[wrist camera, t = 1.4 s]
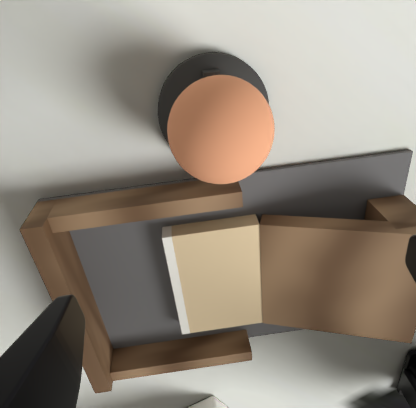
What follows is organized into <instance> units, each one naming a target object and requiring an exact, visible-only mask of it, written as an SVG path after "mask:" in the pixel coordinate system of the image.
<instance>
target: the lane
mask: <svg viewBox="0 0 416 408" xmlns="http://www.w3.org/2000/svg"><path fill="white" fill-rule="evenodd" d="M412 153H413V151H411V150H404V151H396V152H389V153H381V154H374V155H366V156H359V157H351V158H344V159H337V160H329V161H322V162H314V163H307V164H299V165H292V166H284V167H277V168H269V169H262V170H256V171H255V172H254V173H252V174H251V175H250V176H248V177H246V178H244V179H242V180H240V181H238V182H239V185H240V187H241V190H242V198H243V207H240V208H233V209H225V210H218V211H211V212H203V213H196V214H189V215H181V216H174V217H167V218H160V219H152V220H145V221H138V222H130V223H123V224H116V225H108V226H101V227H94V228H86V229H79V230H72V231H69V232H70V234H71V237H72V240H73V242H74V245H75V248H76V250H77V253H78V256H79V258H80V261H81V264H82V267H83V269H84V272H85V275H86V277H87V280H88V283H89V285H90V288H91V291H92V293H93V296H94V299H95V301H96V304H97V307H98V309H99V312H100V315H101V317H102V320H103V323H104V325H105V328H106V331H107V333H108V336H109V339H110V341H111V344H112V347H113V349H117V348H123V347H130V346H137V345H144V344H151V343H157V342H164V341H171V340H178V339H185V338H192V337H198V336H205V335H212V334H219V333H226V332H232V331H239V330H247V334H248V337H254V336H261V335H268V334H274V333H281V332H288V331H295V330H301V329H302V328H295V327H288V326H280V325H273V324H266V323H263V316H262V284H261V252H260V221H261V217H262V214H265V215H283V216H302V217H320V218H338V219H357V220H364V219H365V212H366V206H367V200H368V199H375V198H383V197H390V196H397V195H404V191H405V186H406V181H407V177H408V172H409V167H410V163H411V158H412ZM197 180H199V179H197V178H195V179H187V180H180V181H172V182H165V183H157V184H150V185H143V186H135V187H128V188H120V189H113V190H105V191H98V192H90V193H83V194H75V195H68V196H60V197H53V198H46V199H39V200H38V201H37V202H40V201H48V200H55V199H63V198H70V197H78V196H85V195H92V194H100V193H107V192H115V191H122V190H130V189H137V188H145V187H152V186H159V185H167V184H174V183H182V182H189V181H197Z"/></svg>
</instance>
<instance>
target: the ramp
mask: <svg viewBox="0 0 416 408" xmlns="http://www.w3.org/2000/svg"><path fill="white" fill-rule="evenodd" d="M415 234H416V205H415V204H414V203H412V202H411V201H410V200H409V199H408V198H407V197H405V196H404V195H397V196H390V197H383V198H375V199H368V200H367V206H366V212H365V219H364V220H357V219H338V218H320V217H302V216H283V215H265V214H262V217H261V221H260V252H261V284H262V316H263V323H266V324H273V325H280V326H288V327H295V328H302V329H310V330H317V331H324V332H332V333H339V334H346V335H354V336H361V337H368V338H376V339H383V340H390V341H398V342H405V343H411V342H412V339H413V336H414V332H415V329H416V283H415V281H414V279H413V278H412V276H411V274H410V272H409V270H408V269H407V266H406V263H405V256H406V251H407V246H408V242H409V238H410V237H411V236H412V235H415Z"/></svg>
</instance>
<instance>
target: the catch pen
mask: <svg viewBox="0 0 416 408" xmlns="http://www.w3.org/2000/svg"><path fill="white" fill-rule="evenodd" d="M240 207H243V198H242V190H241V187H240V185H239V182H238V181H237V182H234V183H229V184H213V183H207V182H204V181H201V180H197V181H189V182H182V183H174V184H167V185H159V186H152V187H145V188H137V189H130V190H122V191H115V192H107V193H100V194H92V195H85V196H78V197H70V198H63V199H55V200H48V201H40V202H37V203H36V204H35V206H34V208H33V209H32V211H31V212H30V214H29V215H28V217H27V219H26V220H25V222H24V223H23V225H22V226H21V228H20V232H21V234H22V236H23V238H24V241H25V243H26V245H27V247H28V249H29V251H30V254H31V256H32V258H33V260H34V262H35V264H36V266H37V269H38V271H39V273H40V275H41V277H42V279H43V282H44V284H45V286H46V288H47V290H48V292H49V295H50V297H51V299H52V301H54V300H55V299H56V298H57V297H59V296H64V295H70V294H72V295H74V296H75V297H76V299H77V301H78V303H79V305H80V307H81V309H82V311H83V314H84V316H85V335H84V348H83V362H82V366H83V368H84V370H85V372H86V374H87V377H88V379H89V381H90V383H91V385H92V387H93V390H94V392H95V393H101V392H108V391H111V390H112V383H113V381H116V380H122V379H129V378H136V377H142V376H149V375H156V374H162V373H169V372H176V371H182V370H189V369H196V368H203V367H209V366H216V365H223V364H229V363H236V362H243V361H249V360H252V352H251V347H250V343H249V339H248V334H247V330H239V331H232V332H226V333H219V334H212V335H205V336H198V337H192V338H185V339H178V340H171V341H164V342H157V343H151V344H144V345H137V346H130V347H123V348H117V349H113V347H112V344H111V341H110V339H109V336H108V333H107V331H106V328H105V325H104V323H103V320H102V317H101V315H100V312H99V309H98V307H97V304H96V301H95V299H94V296H93V293H92V291H91V288H90V285H89V283H88V280H87V277H86V275H85V272H84V269H83V267H82V264H81V261H80V258H79V256H78V253H77V250H76V248H75V245H74V242H73V240H72V237H71V234H70V232H69V231H72V230H79V229H86V228H94V227H101V226H108V225H116V224H123V223H130V222H138V221H145V220H152V219H160V218H167V217H174V216H181V215H189V214H196V213H203V212H211V211H218V210H225V209H233V208H240Z"/></svg>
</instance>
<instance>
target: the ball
mask: <svg viewBox="0 0 416 408" xmlns="http://www.w3.org/2000/svg"><path fill="white" fill-rule="evenodd" d="M167 134H168V141H169V145H170V149H171V151H172V153H173V155H174V157H175V159H176V160H177V162H178V163H179V165H180V166H181V167H182V168H183V169H184V170H185V171H186V172H188V173H189V174H190V175H192V176H193V177H195V178H197V179H199V180H201V181H204V182H207V183H213V184H229V183H234V182H237V181H240V180H242V179H244V178H246V177H248V176H250V175H251V174H252V173H254V172H255V171H256V170H257V169H258V168H259V167H260V166H261V165H262V163H263V162H264V161H265V159H266V158H267V156H268V154H269V152H270V150H271V147H272V144H273V139H274V119H273V115H272V111H271V109H270V106H269V104H268V102H267V101H266V99H265V98H264V96H263V95H262V93H261V92H260V91H259V90H258V89H257V88H255V87H254V86H253V85H252V84H250V83H249V82H247V81H245V80H243V79H241V78H238V77H234V76H230V75H213V76H208V77H205V78H202V79H200V80H198V81H196V82H194V83H192V84H191V85H189V86H188V87H187V88H186V89H185V90H184V91H183V92H182V93H181V94H180V95H179V96H178V98H177V99H176V101H175V102H174V104H173V106H172V108H171V111H170V114H169V119H168V124H167Z"/></svg>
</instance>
